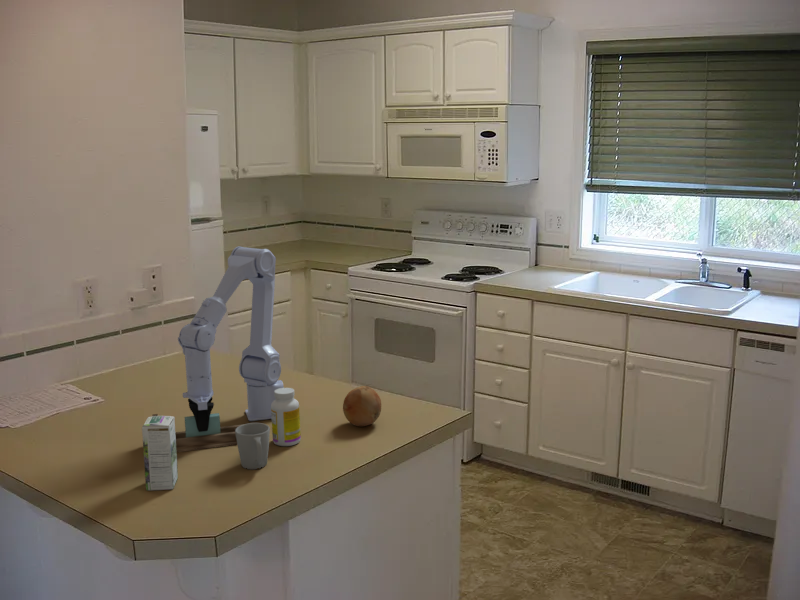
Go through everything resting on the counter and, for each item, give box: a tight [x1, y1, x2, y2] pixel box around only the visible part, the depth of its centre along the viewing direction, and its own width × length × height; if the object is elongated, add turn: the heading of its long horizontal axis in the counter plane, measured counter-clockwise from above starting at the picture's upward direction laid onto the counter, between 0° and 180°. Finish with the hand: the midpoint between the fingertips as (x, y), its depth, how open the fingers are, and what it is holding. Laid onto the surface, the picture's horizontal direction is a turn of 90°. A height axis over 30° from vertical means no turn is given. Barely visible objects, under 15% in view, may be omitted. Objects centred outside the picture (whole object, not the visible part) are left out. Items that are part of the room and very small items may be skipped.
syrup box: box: [141, 415, 179, 491], centre depth 177 cm, size 6×6×14 cm
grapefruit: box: [342, 385, 382, 428], centre depth 210 cm, size 10×10×10 cm
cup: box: [235, 422, 271, 470], centre depth 186 cm, size 8×10×8 cm
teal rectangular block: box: [184, 412, 221, 437], centre depth 200 cm, size 8×2×6 cm, turn 107°
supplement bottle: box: [271, 387, 302, 447], centre depth 199 cm, size 7×7×13 cm
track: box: [151, 413, 244, 453], centre depth 200 cm, size 21×8×7 cm, turn 107°
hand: (202, 428), depth 200 cm, fingers closed on teal rectangular block, 2 cm apart
